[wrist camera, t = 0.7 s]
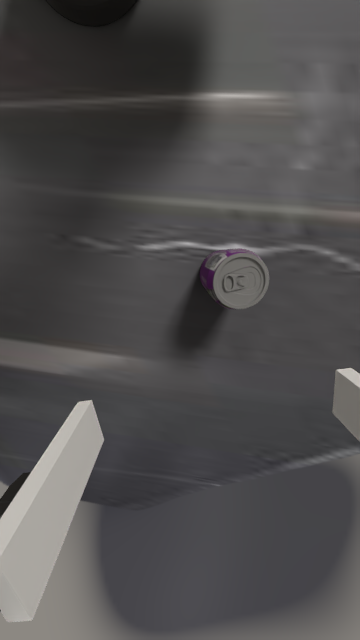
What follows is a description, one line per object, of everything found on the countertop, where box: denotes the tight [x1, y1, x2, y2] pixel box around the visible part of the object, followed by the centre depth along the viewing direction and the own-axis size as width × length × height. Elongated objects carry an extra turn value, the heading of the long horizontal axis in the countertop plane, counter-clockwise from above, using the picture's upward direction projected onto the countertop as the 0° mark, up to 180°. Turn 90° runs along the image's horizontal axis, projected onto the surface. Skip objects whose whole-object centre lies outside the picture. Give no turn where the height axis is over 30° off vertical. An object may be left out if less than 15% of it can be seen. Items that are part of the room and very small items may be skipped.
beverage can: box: [200, 249, 269, 309], centre depth 30 cm, size 7×7×12 cm
